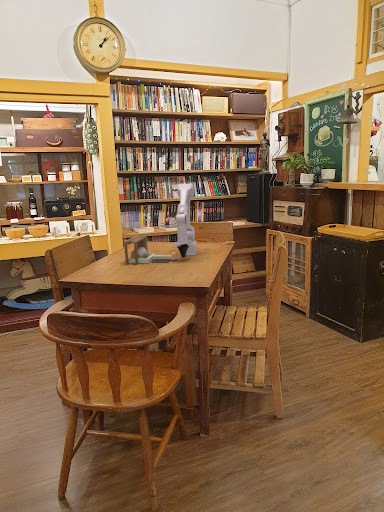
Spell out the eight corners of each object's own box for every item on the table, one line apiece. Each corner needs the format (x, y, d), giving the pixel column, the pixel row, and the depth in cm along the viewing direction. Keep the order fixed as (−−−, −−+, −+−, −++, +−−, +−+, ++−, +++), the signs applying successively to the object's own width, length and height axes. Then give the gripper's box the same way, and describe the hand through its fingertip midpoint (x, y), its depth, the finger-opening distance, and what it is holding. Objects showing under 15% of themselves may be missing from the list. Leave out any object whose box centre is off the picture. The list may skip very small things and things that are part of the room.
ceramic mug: (129, 261, 218) (129, 248, 216) (138, 258, 225) (137, 246, 223) (144, 263, 213) (143, 250, 211) (152, 260, 220) (151, 247, 218)
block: (179, 256, 224) (179, 250, 223) (173, 263, 208) (172, 256, 207) (134, 256, 229) (134, 250, 228) (125, 263, 213) (124, 256, 212)
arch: (148, 256, 230) (146, 235, 227) (137, 264, 209) (135, 241, 206) (137, 256, 231) (135, 235, 228) (125, 264, 210) (123, 241, 208)
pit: (172, 258, 222) (172, 257, 222) (168, 262, 211) (168, 262, 211) (156, 258, 224) (156, 257, 224) (151, 262, 213) (151, 262, 212)
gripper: (184, 232, 220) (185, 254, 223) (169, 235, 209) (170, 259, 212) (194, 233, 216) (194, 255, 219) (178, 236, 204) (179, 260, 207)
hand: (183, 257), depth 215 cm, fingers closed
